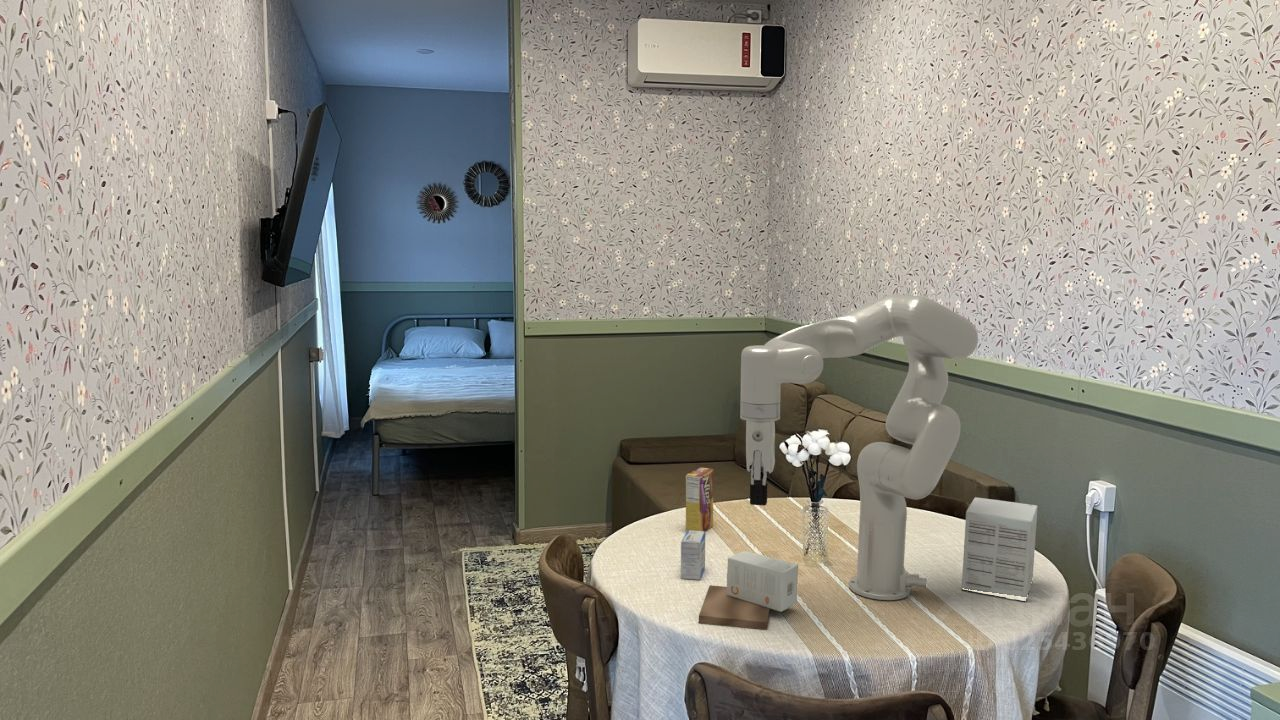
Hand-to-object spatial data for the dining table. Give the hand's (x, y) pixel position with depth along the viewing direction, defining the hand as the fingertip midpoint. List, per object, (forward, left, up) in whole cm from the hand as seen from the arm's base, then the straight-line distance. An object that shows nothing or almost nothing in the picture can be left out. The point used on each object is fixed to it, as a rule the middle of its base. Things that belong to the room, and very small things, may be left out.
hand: (758, 503), depth 174 cm
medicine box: (+15, -20, -23) cm, 34 cm away
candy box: (+18, -51, -23) cm, 59 cm away
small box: (-7, -2, -17) cm, 18 cm away
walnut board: (+4, -2, -23) cm, 23 cm away
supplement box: (-50, -28, -23) cm, 61 cm away
